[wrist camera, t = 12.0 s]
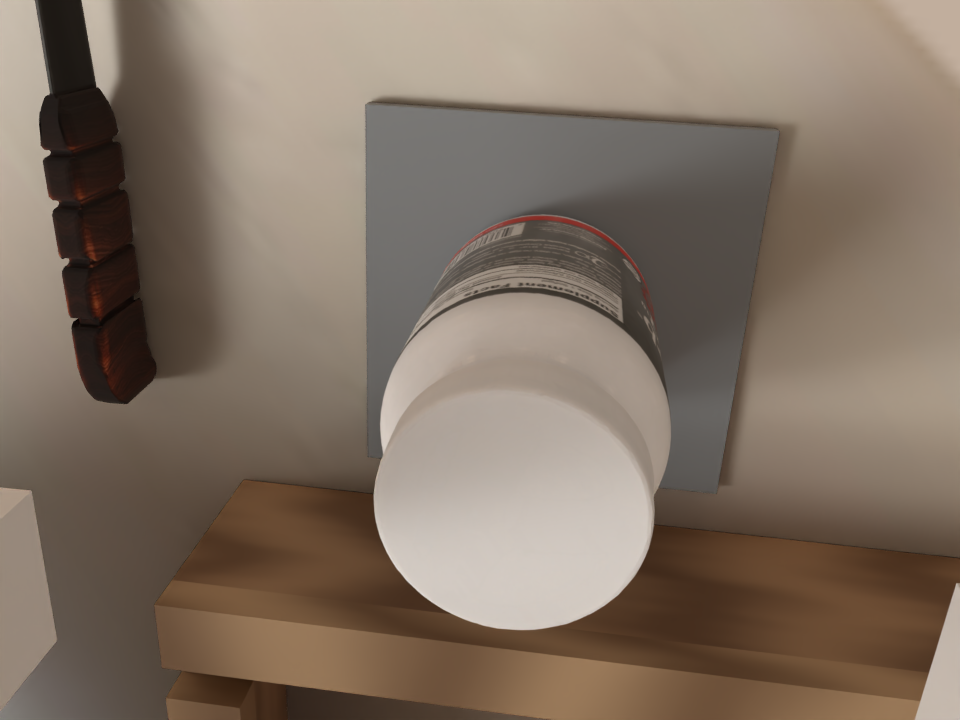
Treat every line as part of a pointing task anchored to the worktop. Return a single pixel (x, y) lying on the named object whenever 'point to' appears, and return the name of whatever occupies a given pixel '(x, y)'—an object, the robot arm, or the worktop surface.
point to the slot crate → (549, 651)
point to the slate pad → (587, 198)
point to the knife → (91, 212)
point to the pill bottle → (526, 428)
